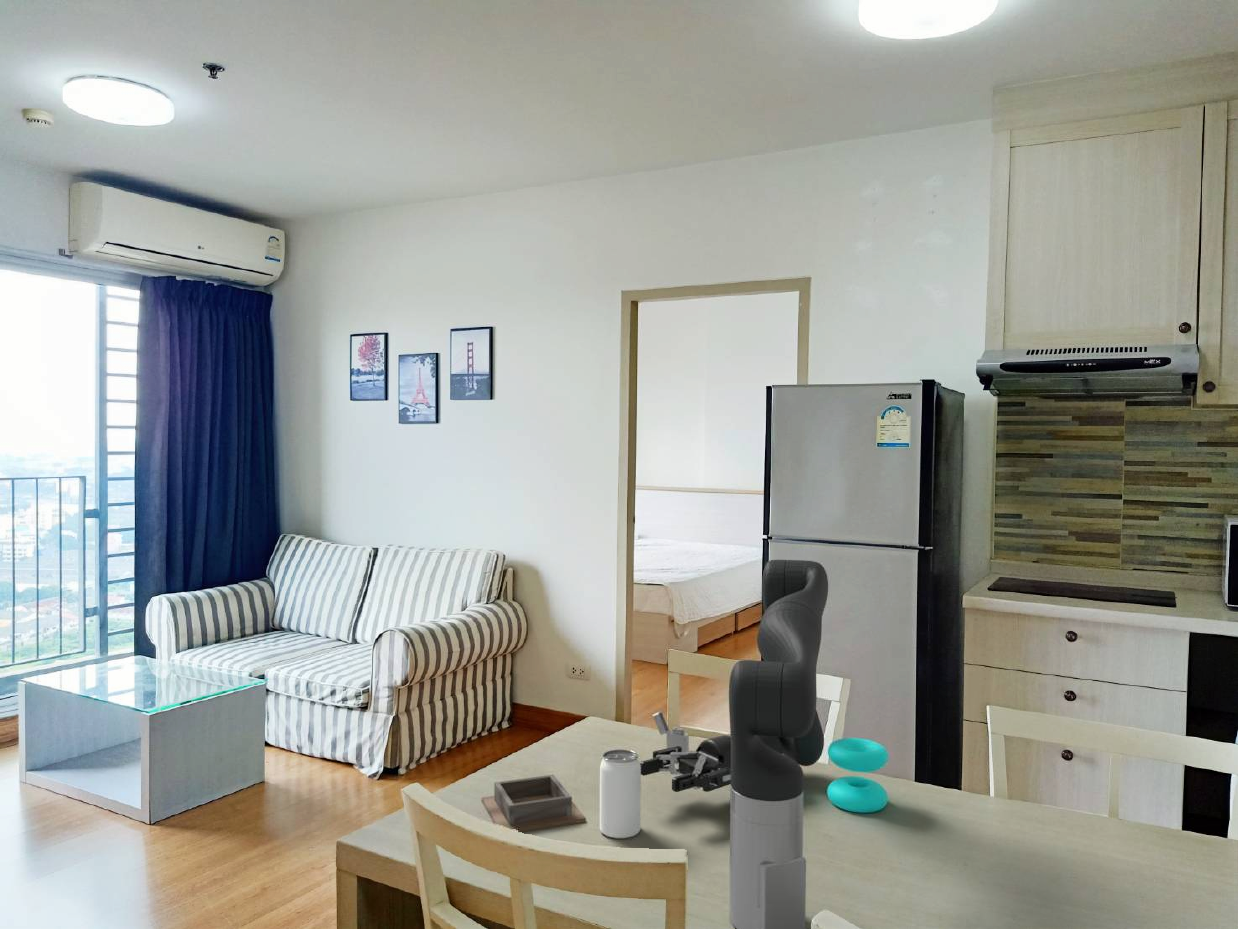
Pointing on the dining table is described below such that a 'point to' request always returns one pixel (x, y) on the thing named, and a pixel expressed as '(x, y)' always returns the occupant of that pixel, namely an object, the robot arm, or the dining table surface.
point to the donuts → (853, 789)
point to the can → (620, 794)
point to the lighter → (672, 733)
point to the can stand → (532, 804)
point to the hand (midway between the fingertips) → (656, 777)
